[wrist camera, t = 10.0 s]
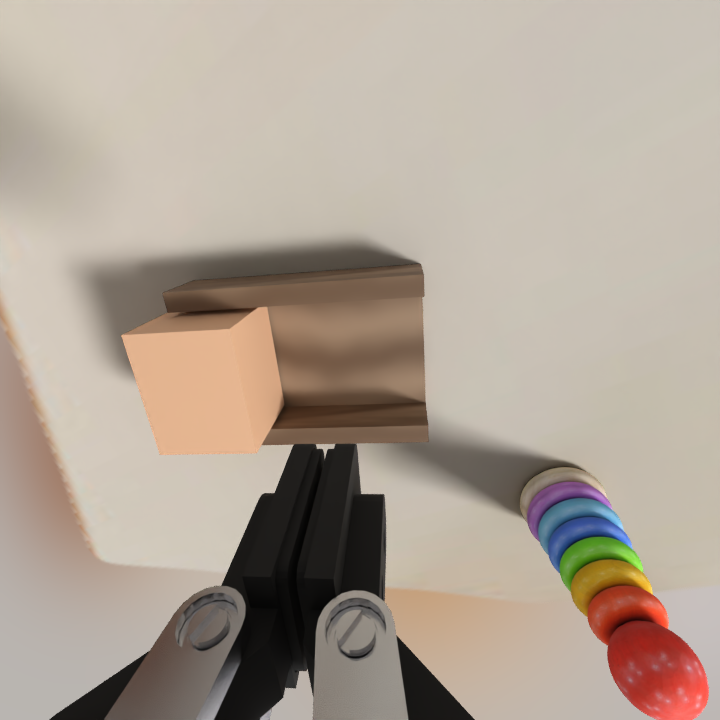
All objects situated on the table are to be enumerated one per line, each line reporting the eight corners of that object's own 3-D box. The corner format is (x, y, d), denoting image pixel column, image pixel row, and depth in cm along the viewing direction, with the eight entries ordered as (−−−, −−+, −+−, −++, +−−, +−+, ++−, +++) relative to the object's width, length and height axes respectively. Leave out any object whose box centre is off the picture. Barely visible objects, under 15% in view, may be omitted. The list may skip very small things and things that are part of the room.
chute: (193, 280, 35) (162, 293, 31) (420, 263, 33) (423, 274, 28) (226, 417, 41) (204, 446, 36) (425, 412, 38) (428, 442, 33)
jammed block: (178, 307, 35) (121, 335, 28) (266, 301, 34) (229, 329, 27) (205, 407, 39) (160, 454, 32) (284, 404, 38) (256, 453, 31)
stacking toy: (607, 516, 40) (760, 753, 23) (527, 533, 42) (614, 764, 25) (593, 454, 38) (752, 668, 21) (508, 474, 40) (590, 687, 22)
